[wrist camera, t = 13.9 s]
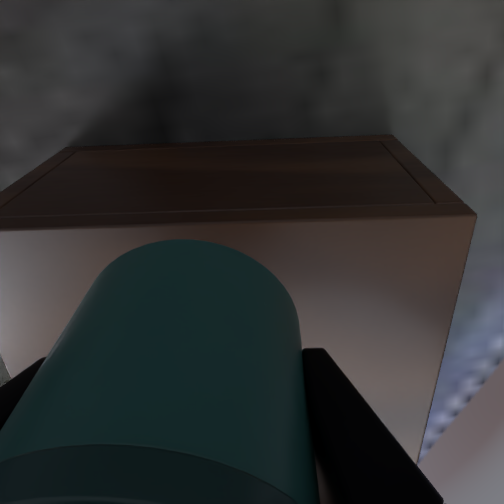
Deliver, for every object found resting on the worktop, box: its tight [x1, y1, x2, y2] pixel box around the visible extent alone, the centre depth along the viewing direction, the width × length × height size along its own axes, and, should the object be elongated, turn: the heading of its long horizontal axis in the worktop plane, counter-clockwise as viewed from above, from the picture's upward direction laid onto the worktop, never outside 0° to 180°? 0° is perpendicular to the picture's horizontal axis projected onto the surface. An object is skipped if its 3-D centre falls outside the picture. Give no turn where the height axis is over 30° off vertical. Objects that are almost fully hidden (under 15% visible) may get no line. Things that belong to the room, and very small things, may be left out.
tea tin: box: [0, 239, 320, 504], centre depth 7 cm, size 5×5×5 cm
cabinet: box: [0, 135, 477, 465], centre depth 18 cm, size 14×14×8 cm
